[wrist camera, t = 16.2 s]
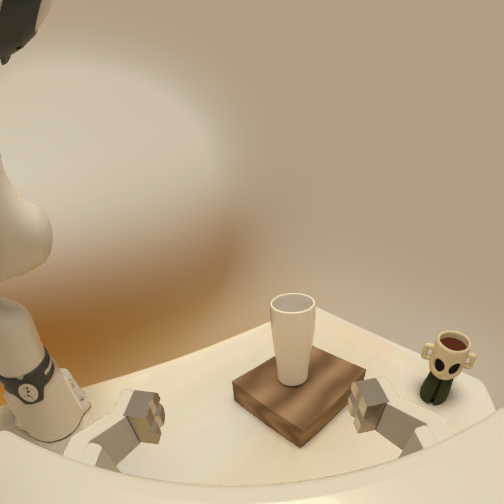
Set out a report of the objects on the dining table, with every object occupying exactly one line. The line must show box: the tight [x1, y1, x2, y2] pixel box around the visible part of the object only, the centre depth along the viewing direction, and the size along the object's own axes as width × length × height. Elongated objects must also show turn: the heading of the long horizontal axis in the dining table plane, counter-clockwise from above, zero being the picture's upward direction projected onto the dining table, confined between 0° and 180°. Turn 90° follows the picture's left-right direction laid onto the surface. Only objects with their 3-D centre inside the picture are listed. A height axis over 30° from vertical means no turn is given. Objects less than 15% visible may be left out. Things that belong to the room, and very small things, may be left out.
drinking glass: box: [270, 293, 315, 386], centre depth 42 cm, size 7×7×15 cm
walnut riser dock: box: [232, 346, 366, 448], centre depth 45 cm, size 16×18×5 cm
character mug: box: [420, 330, 477, 404], centre depth 37 cm, size 11×7×13 cm, turn 49°
